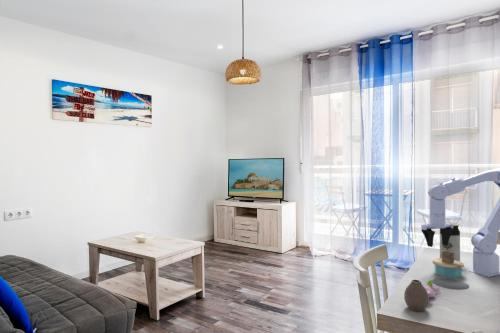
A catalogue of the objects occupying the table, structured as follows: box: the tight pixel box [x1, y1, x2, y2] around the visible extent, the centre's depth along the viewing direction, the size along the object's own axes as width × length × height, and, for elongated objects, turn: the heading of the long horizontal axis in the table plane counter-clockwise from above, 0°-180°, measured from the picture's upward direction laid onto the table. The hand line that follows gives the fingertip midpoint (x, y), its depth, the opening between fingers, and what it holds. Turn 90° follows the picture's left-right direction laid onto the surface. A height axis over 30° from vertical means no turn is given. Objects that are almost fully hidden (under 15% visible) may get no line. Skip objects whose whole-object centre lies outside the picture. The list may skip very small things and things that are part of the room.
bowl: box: [434, 264, 463, 279], centre depth 139 cm, size 9×9×4 cm
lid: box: [432, 251, 465, 268], centre depth 139 cm, size 11×11×5 cm
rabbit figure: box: [424, 279, 441, 299], centre depth 116 cm, size 6×6×15 cm
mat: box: [431, 277, 470, 291], centre depth 127 cm, size 12×12×1 cm
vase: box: [403, 279, 430, 312], centre depth 107 cm, size 7×7×9 cm
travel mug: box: [439, 221, 461, 262], centre depth 156 cm, size 8×8×18 cm
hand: (437, 245), depth 145 cm, fingers open, 7 cm apart
